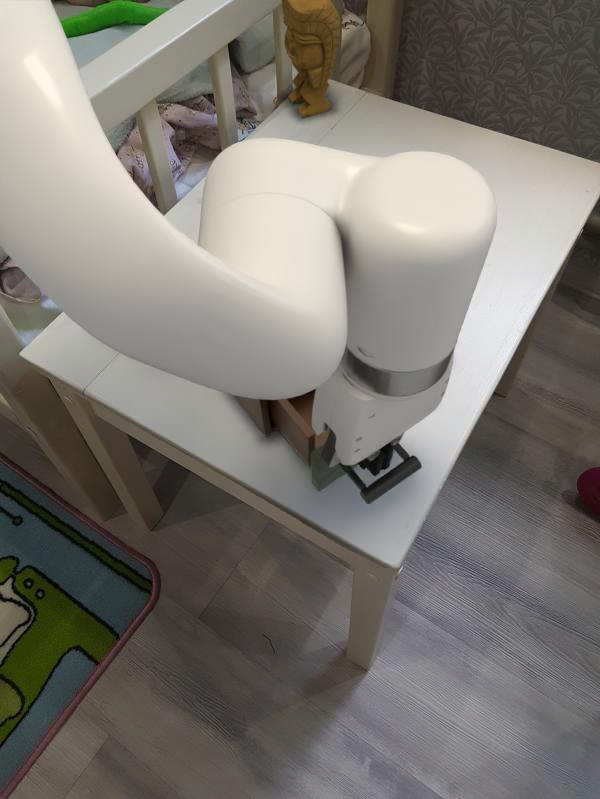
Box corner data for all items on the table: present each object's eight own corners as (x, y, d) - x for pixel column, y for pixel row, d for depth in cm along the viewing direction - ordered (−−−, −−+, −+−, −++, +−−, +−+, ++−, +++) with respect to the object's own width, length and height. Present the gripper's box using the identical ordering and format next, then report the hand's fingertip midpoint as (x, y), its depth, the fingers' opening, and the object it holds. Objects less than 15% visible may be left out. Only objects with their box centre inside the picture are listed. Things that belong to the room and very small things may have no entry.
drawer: (430, 474, 59) (443, 443, 54) (349, 532, 57) (353, 506, 51) (329, 361, 66) (330, 322, 61) (253, 408, 64) (246, 372, 58)
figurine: (283, 95, 92) (277, -13, 79) (323, 84, 93) (324, -25, 80) (301, 122, 89) (298, 13, 76) (342, 110, 90) (346, 1, 77)
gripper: (442, 255, 44) (406, 390, 59) (267, 356, 39) (279, 473, 55) (519, 323, 40) (460, 447, 56) (338, 442, 36) (329, 539, 52)
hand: (370, 459), depth 56 cm, fingers closed
